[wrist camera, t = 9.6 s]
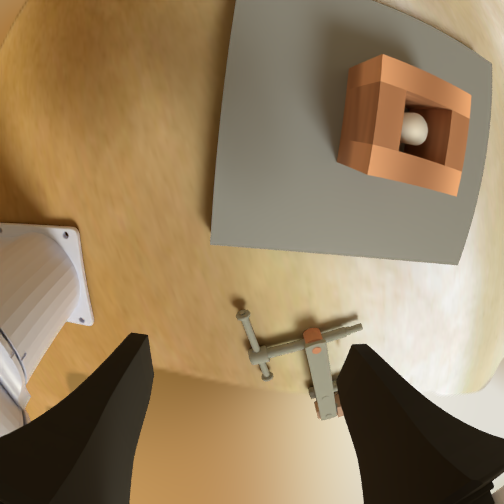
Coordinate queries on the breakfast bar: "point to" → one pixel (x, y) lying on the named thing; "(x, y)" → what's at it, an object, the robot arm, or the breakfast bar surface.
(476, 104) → the pin board
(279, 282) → the breakfast bar surface
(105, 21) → the breakfast bar surface
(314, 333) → the clamp
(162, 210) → the breakfast bar surface
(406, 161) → the collar block
